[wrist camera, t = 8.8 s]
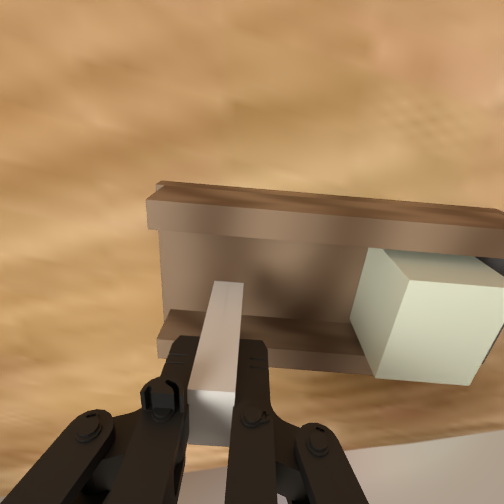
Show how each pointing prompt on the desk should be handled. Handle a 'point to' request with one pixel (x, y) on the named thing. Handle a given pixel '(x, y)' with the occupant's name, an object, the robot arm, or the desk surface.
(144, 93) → the desk surface
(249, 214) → the chute
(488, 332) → the block
